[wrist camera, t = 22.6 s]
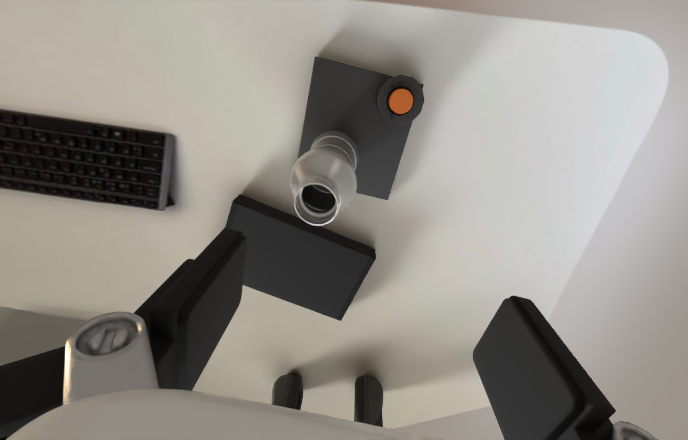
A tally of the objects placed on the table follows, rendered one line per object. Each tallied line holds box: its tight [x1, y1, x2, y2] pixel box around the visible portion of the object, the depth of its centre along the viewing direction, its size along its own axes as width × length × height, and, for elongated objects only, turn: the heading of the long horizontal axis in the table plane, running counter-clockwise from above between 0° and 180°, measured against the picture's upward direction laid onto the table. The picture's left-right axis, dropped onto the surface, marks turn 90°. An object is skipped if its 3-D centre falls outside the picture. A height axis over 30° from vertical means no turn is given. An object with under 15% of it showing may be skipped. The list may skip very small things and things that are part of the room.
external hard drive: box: [225, 195, 376, 321], centre depth 49 cm, size 14×23×3 cm, turn 67°
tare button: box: [389, 89, 413, 114], centre depth 37 cm, size 3×3×2 cm
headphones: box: [272, 374, 383, 427], centre depth 54 cm, size 22×6×20 cm, turn 91°
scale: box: [298, 57, 424, 200], centre depth 40 cm, size 16×14×3 cm
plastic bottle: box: [290, 131, 359, 226], centre depth 33 cm, size 6×7×20 cm
